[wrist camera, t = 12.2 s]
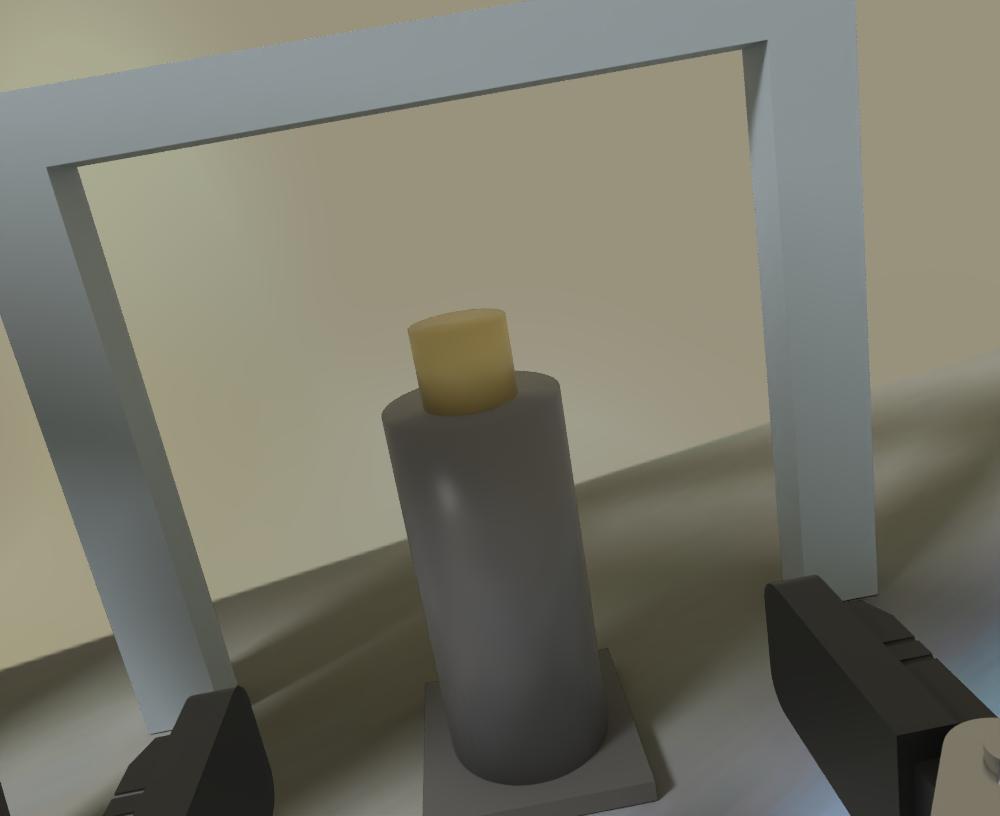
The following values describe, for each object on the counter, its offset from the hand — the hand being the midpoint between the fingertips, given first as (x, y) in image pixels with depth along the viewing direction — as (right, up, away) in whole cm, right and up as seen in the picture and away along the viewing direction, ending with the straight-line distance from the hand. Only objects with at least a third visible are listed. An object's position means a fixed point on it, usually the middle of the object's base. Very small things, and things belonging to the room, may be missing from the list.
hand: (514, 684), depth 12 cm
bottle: (+1, -5, +11) cm, 12 cm away
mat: (+1, -6, +11) cm, 13 cm away
